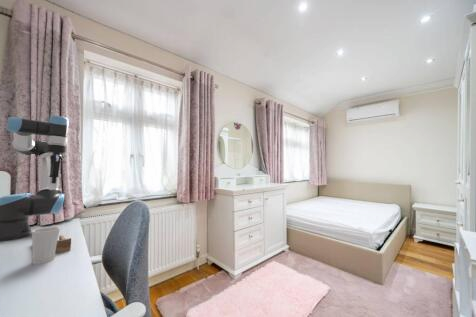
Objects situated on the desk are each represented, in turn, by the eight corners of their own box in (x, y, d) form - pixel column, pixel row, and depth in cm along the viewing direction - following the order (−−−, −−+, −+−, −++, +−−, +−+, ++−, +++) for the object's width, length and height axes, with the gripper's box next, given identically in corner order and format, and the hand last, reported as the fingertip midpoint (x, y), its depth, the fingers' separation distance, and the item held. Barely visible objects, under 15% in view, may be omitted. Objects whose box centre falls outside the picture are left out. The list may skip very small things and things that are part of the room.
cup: (24, 267, 71) (27, 233, 72) (34, 258, 78) (37, 228, 79) (53, 262, 75) (55, 230, 76) (60, 255, 82) (62, 226, 83)
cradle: (33, 244, 94) (34, 234, 94) (62, 239, 102) (62, 229, 102) (37, 257, 79) (38, 244, 80) (70, 250, 87) (71, 238, 88)
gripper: (45, 145, 105) (41, 189, 102) (48, 142, 96) (44, 190, 94) (64, 147, 110) (60, 188, 108) (68, 144, 102) (64, 189, 100)
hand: (52, 189), depth 101 cm, fingers closed
